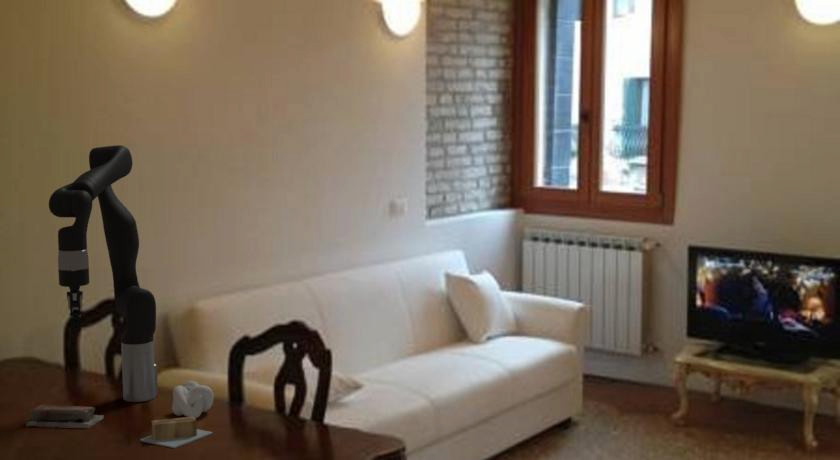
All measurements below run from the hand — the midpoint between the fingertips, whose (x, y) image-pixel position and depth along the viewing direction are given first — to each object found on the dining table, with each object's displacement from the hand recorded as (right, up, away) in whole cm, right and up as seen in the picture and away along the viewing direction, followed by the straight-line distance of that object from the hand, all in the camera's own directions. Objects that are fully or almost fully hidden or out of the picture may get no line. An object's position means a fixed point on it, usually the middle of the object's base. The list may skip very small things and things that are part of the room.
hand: (76, 328), depth 265 cm
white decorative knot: (+25, -26, +19) cm, 41 cm away
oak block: (+21, -26, -3) cm, 34 cm away
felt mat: (+27, -28, -1) cm, 39 cm away
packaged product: (-7, -28, +13) cm, 31 cm away
